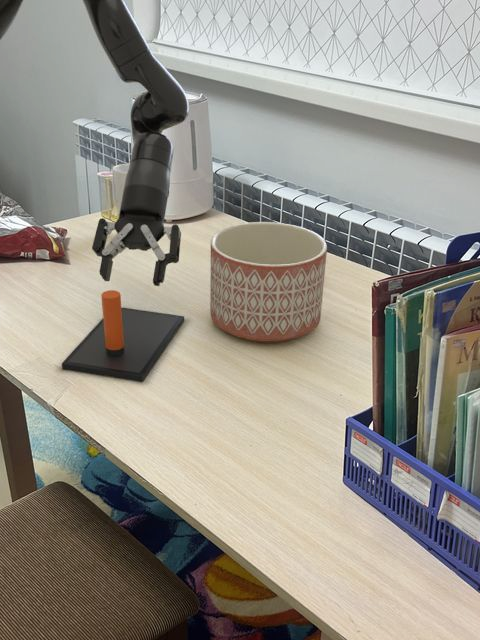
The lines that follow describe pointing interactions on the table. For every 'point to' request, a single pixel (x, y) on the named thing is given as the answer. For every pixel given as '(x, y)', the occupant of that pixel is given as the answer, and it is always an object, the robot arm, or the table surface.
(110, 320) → the orange peg
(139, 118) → the robot arm
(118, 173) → the drinking glass
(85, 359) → the tablet
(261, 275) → the planter
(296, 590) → the table surface
